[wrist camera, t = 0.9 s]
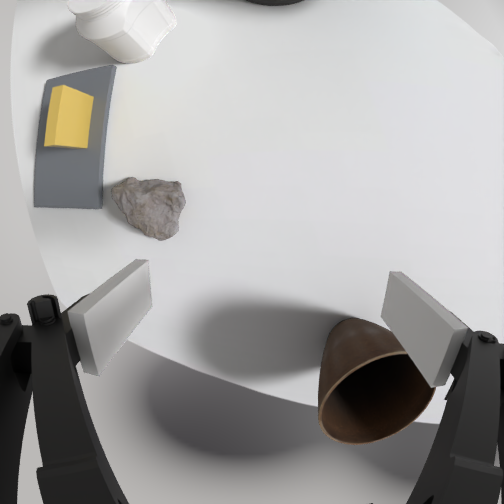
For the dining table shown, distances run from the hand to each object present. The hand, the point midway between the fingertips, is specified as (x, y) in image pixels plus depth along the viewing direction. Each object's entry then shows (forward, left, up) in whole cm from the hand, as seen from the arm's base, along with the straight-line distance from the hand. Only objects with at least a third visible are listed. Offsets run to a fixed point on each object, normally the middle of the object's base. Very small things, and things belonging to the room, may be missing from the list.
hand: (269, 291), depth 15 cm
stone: (-2, -15, -25) cm, 29 cm away
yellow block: (-13, -28, -23) cm, 38 cm away
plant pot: (+17, +15, -25) cm, 33 cm away
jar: (-28, -21, -25) cm, 43 cm away
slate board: (-11, -31, -24) cm, 41 cm away
